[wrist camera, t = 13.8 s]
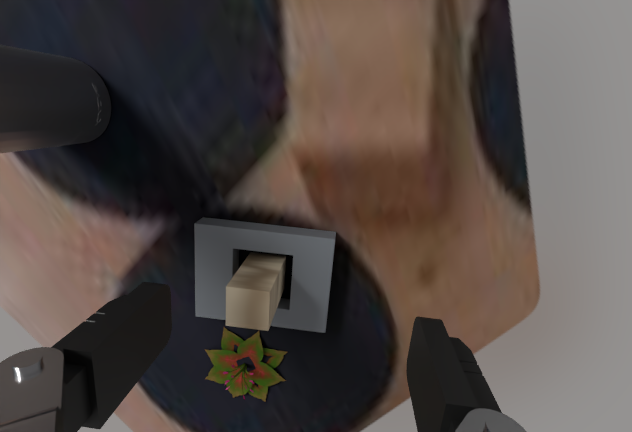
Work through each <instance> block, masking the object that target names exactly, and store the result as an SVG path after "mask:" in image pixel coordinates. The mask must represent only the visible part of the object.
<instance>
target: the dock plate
mask: <svg viewBox="0 0 632 432" xmlns="http://www.w3.org/2000/svg"><path fill="white" fill-rule="evenodd" d="M194 232H195V307H196V316H198V317H206V318H213V319H221V320H226V286H227V284H228V283H229V282H230V280H231V279H232V277H233V276H234V275H235V273H236V272H237V270H238V269H239V249H242V250H250V251H259V252H268V253H276V254H285V255H293V267H292V281H291V295H290V299H285V298H281V299H280V301H279V304H278V307H277V309H276V312H275V315H274V317H273V320H272V322H271V325H270V326H275V327H283V328H290V329H298V330H306V331H314V332H321V333H325V331H326V323H327V313H328V304H329V294H330V285H331V275H332V266H333V257H334V247H335V238H336V232H332V231H323V230H314V229H305V228H296V227H287V226H278V225H269V224H260V223H251V222H242V221H233V220H224V219H215V218H206V217H203V218H201V219H200V220H198V221H197V222H196V223H194Z"/></svg>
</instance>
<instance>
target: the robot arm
mask: <svg viewBox="0 0 632 432" xmlns="http://www.w3.org/2000/svg"><path fill="white" fill-rule="evenodd" d="M110 116H111V101H110V96H109V93H108V90H107V87H106V86H105V84H104V82H103V80H102V79H101V77H100V76H99V75H98V74H97V73H96V71H94V70H93V69H92V68H91V67H90V66H88V65H87V64H85V63H83V62H81V61H79V60H76V59H73V58H68V57H63V56H57V55H52V54H47V53H42V52H36V51H31V50H25V49H20V48H14V47H9V46H3V45H0V153H7V152H15V151H23V150H31V149H39V148H47V147H55V146H64V145H71V144H79V143H86V142H90V141H92V140H95V139H96V138H98V137H99V136H100V135H101V134H102V133H103V132H104V131H105V130H106V128H107V126H108V124H109V121H110ZM171 329H172V319H171V292H170V287H169V286H168V285H165V284H157V283H149V282H143V283H142V284H140V285H139V286H138V287H137V288H136V289H134V290H133V291H132V292H131V293H129V294H128V295H123V296H121V297H119V298H117V299H114V300H112V301H110V302H108V303H107V304H105V305H104V306H103V307H102V308H100V309H99V310H98V311H97V312H96V314H93V315H92V316H90V317H89V318H88V319H86V322H83V323H81V324H80V325H79V326H78V327H76V328H75V329H74V330H73V331H71V332H70V333H69V334H67V335H66V336H65V337H64V338H62V339H61V340H60V341H59V342H57V343H56V344H55V345H54V346H52V347H51V348H50V347H41V348H34V349H29V350H25V351H22V352H19V353H17V354H14V355H12V356H10V357H8V358H7V359H5V360H3V361H2V362H1V363H0V432H77V431H78V430H79V429H80V428H81V427H89V428H95V429H101V427H102V426H103V425H104V423H105V422H106V421H107V420H108V418H109V417H110V416H111V415H112V413H113V412H114V411H115V409H116V408H117V407H118V406H119V404H120V403H121V402H122V401H123V399H124V398H125V397H126V396H127V394H128V393H129V392H130V390H131V389H132V388H133V387H134V385H135V384H136V383H137V382H138V380H139V379H140V378H141V377H142V375H143V374H144V373H145V371H146V370H147V369H148V368H149V366H150V365H151V364H152V363H153V361H154V360H155V359H156V358H157V356H158V355H159V354H160V352H161V351H162V350H163V349H164V347H165V346H166V345H167V343H168V341H169V338H170V335H171ZM407 381H408V386H409V391H410V396H411V400H412V405H413V410H414V415H415V420H416V425H417V430H418V432H526V431H525V430H524V428H523V427H522V426H520V425H519V424H518V423H517V422H516V421H514V420H513V419H512V418H510V417H508V416H507V415H505V414H503V413H502V412H501V410H500V408H499V406H498V404H497V402H496V400H495V398H494V396H493V394H492V392H491V390H490V388H489V386H488V384H487V382H486V380H485V378H484V376H482V372H481V370H480V368H479V366H478V365H477V362H476V360H475V358H474V355H473V353H472V351H471V350H470V349H469V348H468V347H467V346H466V345H465V344H464V343H463V342H462V341H461V340H460V339H459V338H453V337H449V336H448V333H447V331H446V329H445V326H444V324H443V322H442V320H440V319H432V318H424V317H416V319H415V321H414V326H413V331H412V337H411V342H410V347H409V353H408V358H407Z"/></svg>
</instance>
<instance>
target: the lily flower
mask: <svg viewBox="0 0 632 432" xmlns="http://www.w3.org/2000/svg"><path fill="white" fill-rule="evenodd" d="M259 335H260V333H259V331H258V332H257V333H256V334H254V335H253V336H252V337H251V338H248V339H247V340H246V341H244V340H243V339H241V338H240V337H238V336H237V335H235V334H234V333H232V332H230V331H227V329H226V328H224V331H223V337H222V341H221V346H222V349H223V350H210V351H209V350H205V349H204V350H205V351H206V352H207V354H208V356H209V357H210V358H211V361H212V363H213V365H214V367H213V368H212V369H211V370H210V372H209V374H208V376H207V377H206V378H205V379H209V380H211V381H215V382H217V383H225V384H226V386H227V389H228V390H229V392H230V393H231V394H233V395H232V396H233V398H234V397H235V396H239V395H243V397H244V394H246V393H247V392H248V393H249V394H250V395H252V396H254V397H256V398H258V399H262V400H263V401H265V402H266V400H265V399H266V394H267V392H268V386H271V385H274V384H277V383H279V382H280V381H286V380H284V379H283V378H282V377H281V376H279V374H278V373H276V372H275V371H274V370H273V369H274V368H276V367H277V366H278V365H279V364H280V362H281V361H282V359H283V356H284V355H285V354H286V353H287V352H284V351H277V350H274V349H268V348H262V343H261V339H260V337H259ZM234 344H235V345H237V346H238V349H237V353H236V352H234ZM263 355H266V356H273V357H271V358H270V359H269V360H268V362H267V363H263V362H260V361H261V360H262V358H263ZM248 356H249V357H250V358H251V360H252V361H253V363H254V365H255V367H256V369H254V370H252V371H249V372H247V370H246V369H247V364H245V363H244V364H242V365H240V366H238V365H237V363H236V361H237V360H239V359H241V358H244V357H248ZM245 365H246V366H245ZM242 366H243V367H242ZM240 367H242V368H241V369H240ZM244 368H245V370H244ZM224 371H231V372H224ZM242 371H243V372H242ZM253 381H254V382H255V383H257V384H258V387H259V388H258V387H257V386H256V385H254V382H253ZM252 383H253V384H252ZM227 389H225V390H227ZM244 400H245V397H244Z"/></svg>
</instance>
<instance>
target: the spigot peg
mask: <svg viewBox="0 0 632 432" xmlns="http://www.w3.org/2000/svg"><path fill="white" fill-rule="evenodd" d="M285 267H286V256H280V255H271V254H262V253H253V252H250V254H249V255H248V256H247V258H246V259H245V261H244V262H243V263H242V265H241V266H240V268H239V269H238V270H237V272H236V273H235V275H234V276H233V277H232V279H231V280H230V282H229V283H228V284H227V286H226V326H233V327H241V328H249V329H257V330H266V331H268V330H269V328H270V325H271V322H272V320H273V317H274V315H275V312H276V309H277V307H278V304H279V301H280V299H281V296H282V293H283V291H284V285H285Z"/></svg>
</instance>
